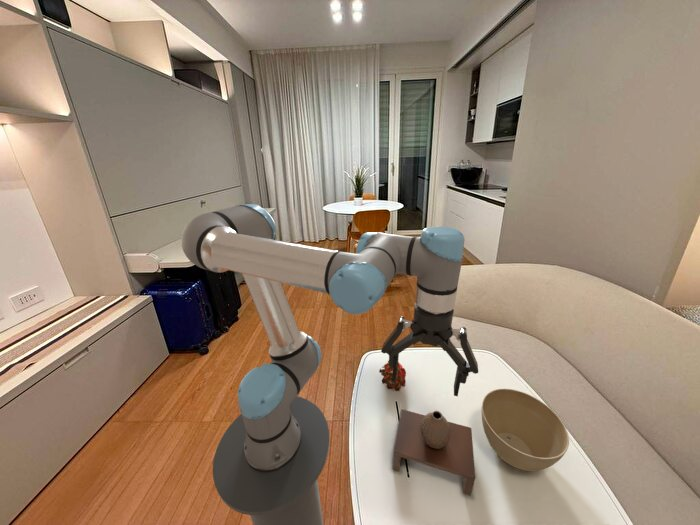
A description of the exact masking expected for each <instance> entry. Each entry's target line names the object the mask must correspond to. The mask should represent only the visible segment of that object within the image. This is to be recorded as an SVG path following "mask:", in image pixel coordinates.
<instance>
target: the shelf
mask: <svg viewBox="0 0 700 525" xmlns="http://www.w3.org/2000/svg"><path fill="white" fill-rule="evenodd" d="M425 415H426V414H422V413H418V412H415V411H410V410H407V409H403V408H401V410H400V415H399V420H398V421H399V422H398V426H397V431H396V436H395V441H394V447H393V453H392V454H393V457H392V470H394V471H396V472H400V469H401V462H402V458H403V459H405V460H409V461H412V462H415V463H418V464H421V465H424V466H427V467H430V468H432V469H437V470H440V471H442V472H446V473H449V474H452V475H455V476H458V477H461V478H462V493H463V495H466V496H469V497H471V496H472V493H473V489H474V485H475V480H476V470H475V457H474V444H473V431H472V427H469V426H466V425H463V424H458V423H455V422H451V421H448V423H449V426H450V439H449V442H448V443H447V445H446V446H445V447H443V448H441V449H435V448H432V447H430V446H428V445H427V444H426V443H425V441H424V440H423V438H422V435H421V422H422V420H423V418H424V417H425Z"/></svg>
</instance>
